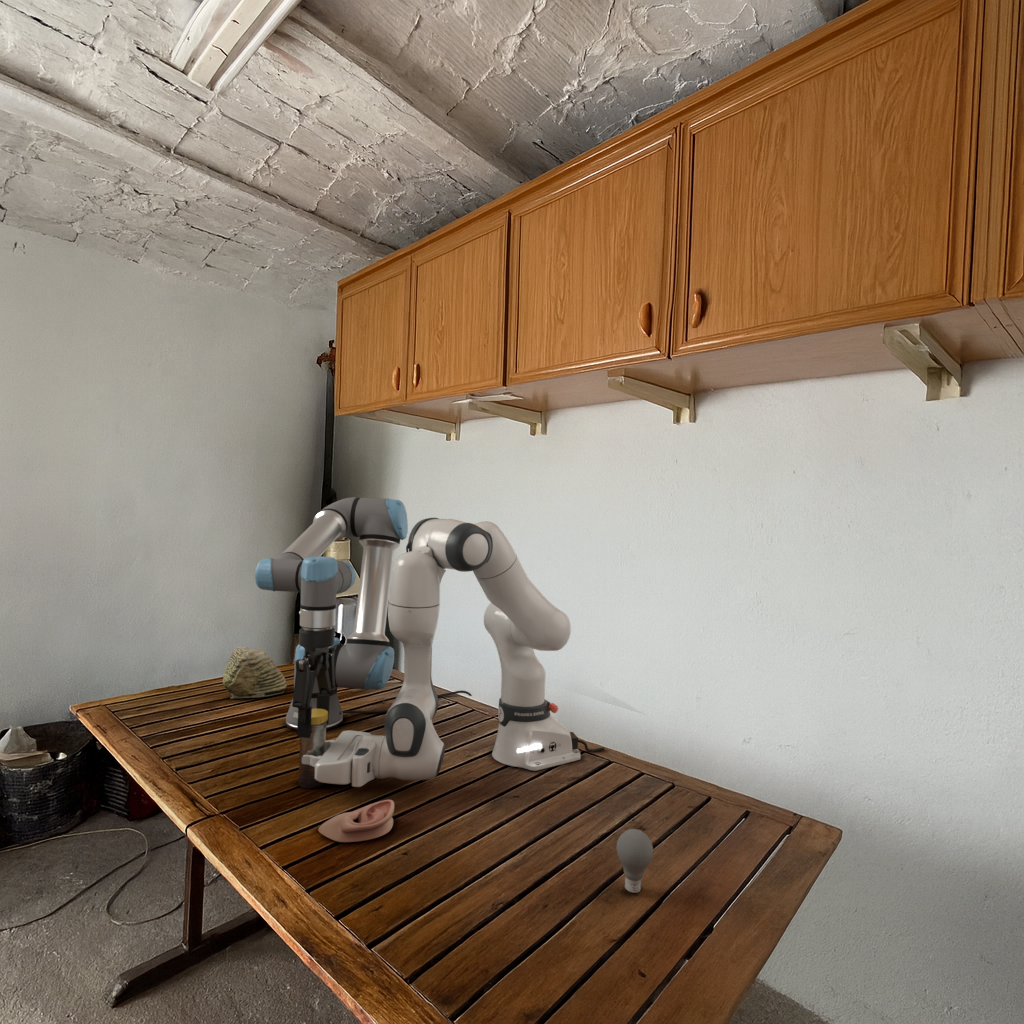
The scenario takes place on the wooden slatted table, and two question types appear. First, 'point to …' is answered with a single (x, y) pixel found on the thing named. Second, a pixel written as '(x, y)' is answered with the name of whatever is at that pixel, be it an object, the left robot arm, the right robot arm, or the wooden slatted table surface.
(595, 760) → the wooden slatted table surface
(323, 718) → the lid
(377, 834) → the anatomical model
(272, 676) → the fossil
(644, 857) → the light bulb
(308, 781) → the jar
